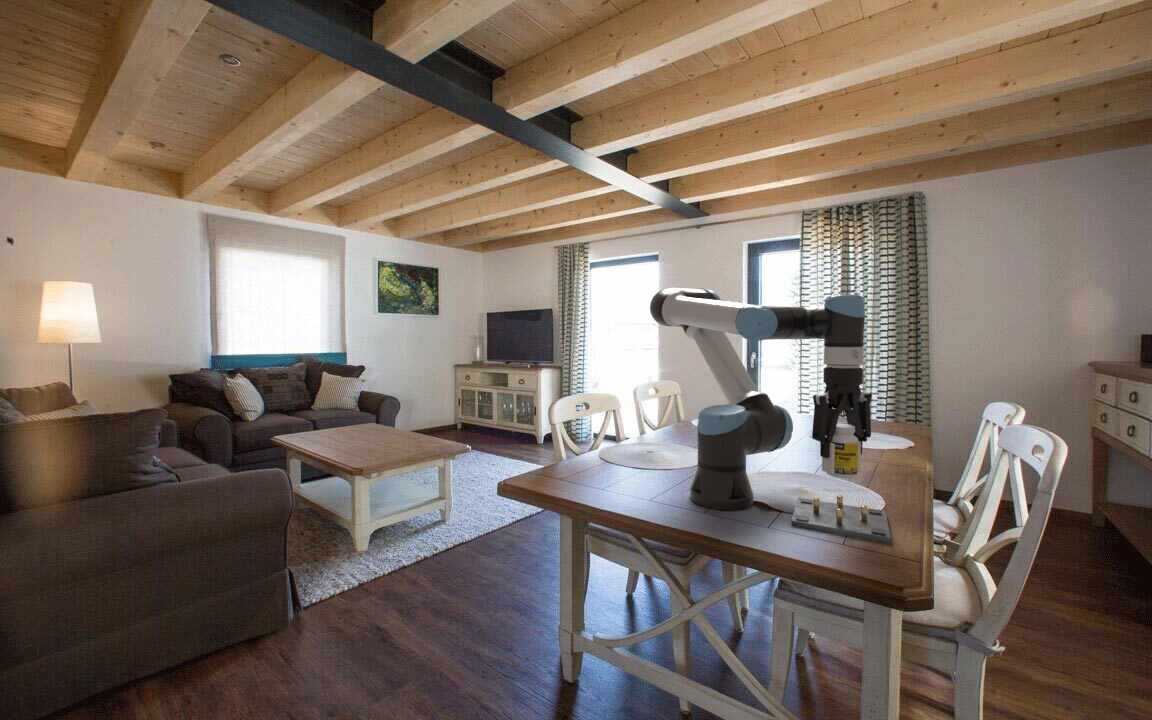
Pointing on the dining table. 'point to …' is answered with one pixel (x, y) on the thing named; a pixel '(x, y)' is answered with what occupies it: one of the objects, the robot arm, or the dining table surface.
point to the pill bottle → (845, 451)
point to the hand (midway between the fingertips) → (841, 470)
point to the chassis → (841, 519)
